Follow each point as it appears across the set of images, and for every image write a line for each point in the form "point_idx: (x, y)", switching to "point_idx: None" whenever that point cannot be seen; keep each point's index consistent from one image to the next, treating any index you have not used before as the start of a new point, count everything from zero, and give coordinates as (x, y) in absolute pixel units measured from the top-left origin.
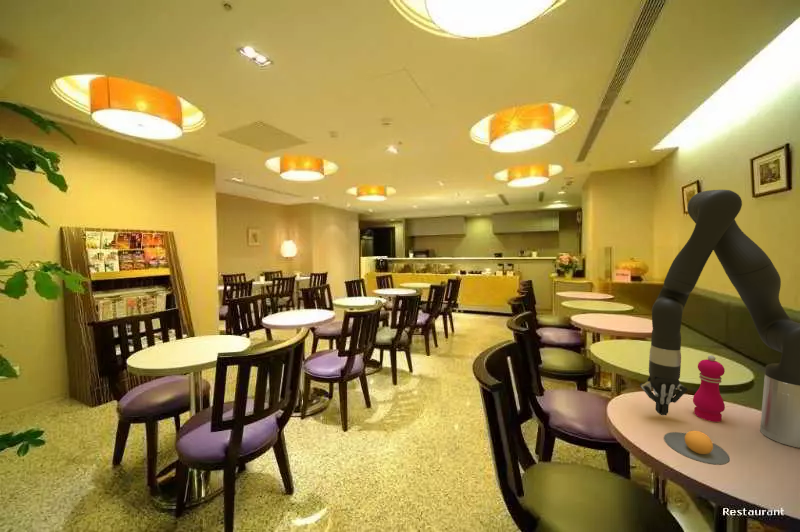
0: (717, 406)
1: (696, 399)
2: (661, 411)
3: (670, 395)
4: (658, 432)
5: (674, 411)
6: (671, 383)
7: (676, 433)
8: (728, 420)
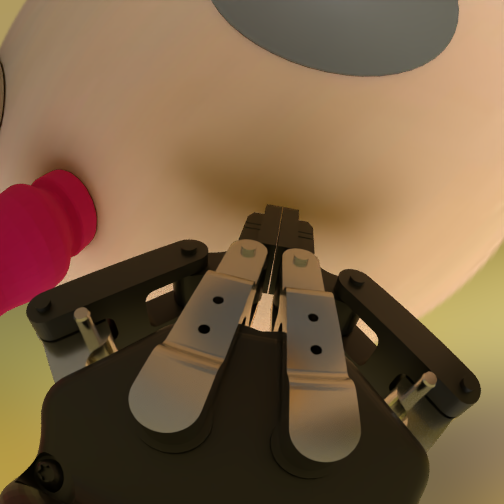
0: (6, 195)
1: (48, 262)
2: (297, 222)
3: (223, 289)
4: (423, 100)
5: None
6: (156, 439)
7: (339, 60)
8: (29, 183)
